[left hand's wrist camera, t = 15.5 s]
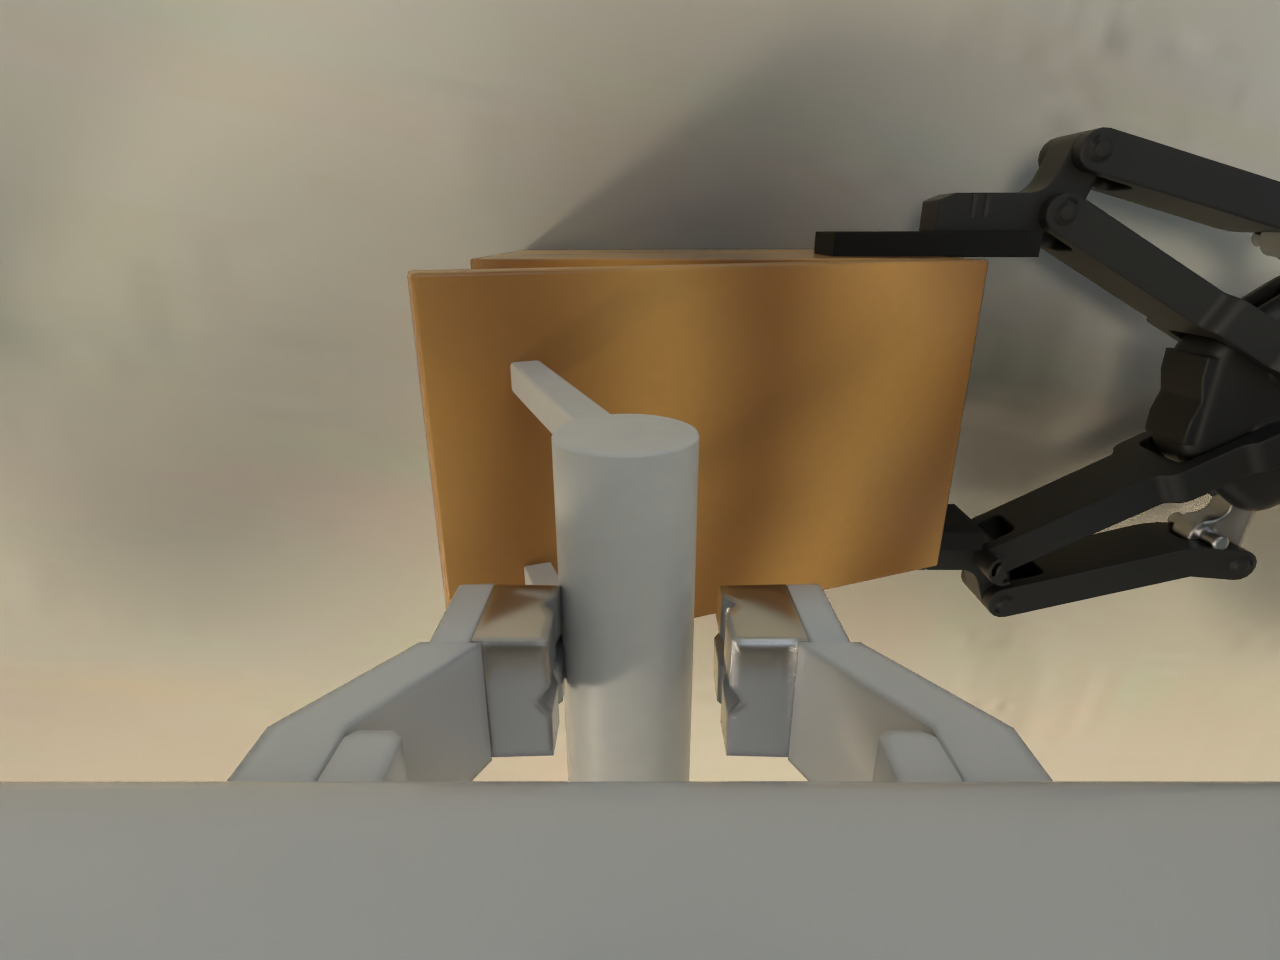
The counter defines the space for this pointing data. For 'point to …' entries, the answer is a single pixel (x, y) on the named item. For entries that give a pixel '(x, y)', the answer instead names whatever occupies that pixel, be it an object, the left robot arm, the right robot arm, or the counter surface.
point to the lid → (685, 453)
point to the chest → (662, 257)
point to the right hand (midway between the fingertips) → (810, 395)
